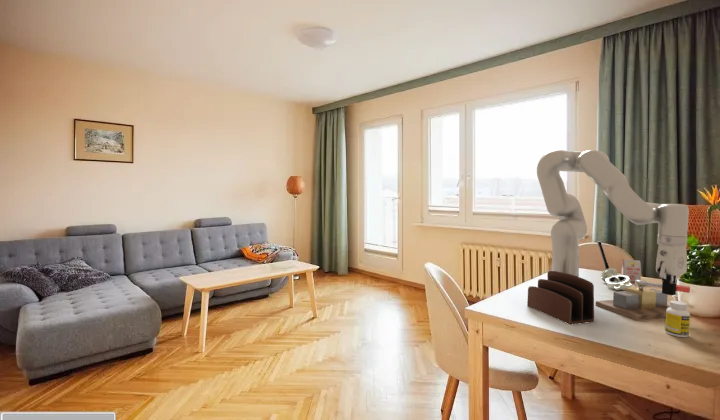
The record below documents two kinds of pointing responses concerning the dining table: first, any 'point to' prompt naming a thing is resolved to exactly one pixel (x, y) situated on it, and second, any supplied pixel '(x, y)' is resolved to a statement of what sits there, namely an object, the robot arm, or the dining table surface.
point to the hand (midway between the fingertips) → (668, 294)
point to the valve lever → (644, 283)
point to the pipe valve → (639, 298)
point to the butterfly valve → (613, 275)
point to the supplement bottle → (677, 319)
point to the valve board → (635, 311)
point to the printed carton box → (631, 269)
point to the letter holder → (563, 297)
